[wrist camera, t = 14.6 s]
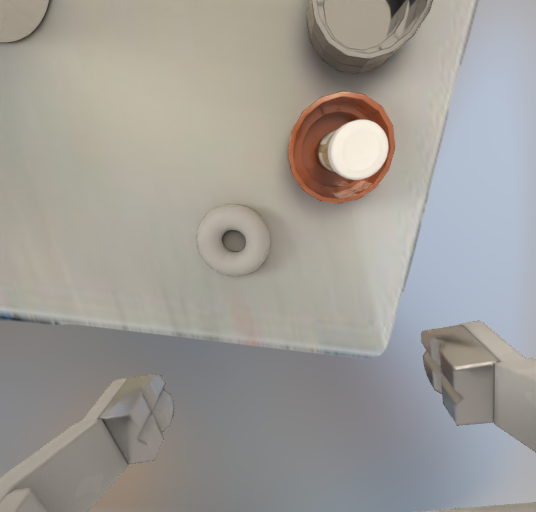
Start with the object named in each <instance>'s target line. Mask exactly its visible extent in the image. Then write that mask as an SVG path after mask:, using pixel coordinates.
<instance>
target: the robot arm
mask: <svg viewBox="0 0 536 512" xmlns="http://www.w3.org/2000/svg"><path fill="white" fill-rule="evenodd" d="M48 3H49V0H0V42H12V41H17V40H20V39H22V38H24V37H26V36H27V35H29V34H30V33H31V32H32V31H34V30H35V29H36V27H37V26H38V25H39V23H40V22H41V20H42V19H43V17H44V15H45V12H46V10H47V7H48ZM421 342H422V344H423V346H424V347H425V348H426V352H425V353H424V355H423V361H424V367H425V371H426V374H427V377H428V379H429V381H430V383H431V385H432V386H433V388H434V390H435V391H437V392H439V393H441V394H442V396H443V404H444V406H445V407H446V409H447V410H448V412H449V414H450V415H451V417H452V418H453V420H454V422H455V423H456V425H457V426H459V425H470V424H482V423H493V422H494V424H495V425H496V426H498V427H499V428H501V429H502V430H504V431H505V432H507V433H508V434H509V435H511V436H513V437H514V438H515V439H517V440H518V441H520V442H521V443H523V444H524V445H526V446H528V447H529V448H530V449H532V450H533V451H535V452H536V359H535V358H527V359H526V358H525V357H523V356H522V355H521V354H520V353H519V352H518V351H516V350H515V349H514V348H513V347H512V346H511V345H509V344H508V343H507V342H506V341H505V340H503V339H502V338H501V337H500V336H499V335H498V334H496V333H495V332H494V331H493V330H492V329H491V328H489V327H488V326H487V325H486V324H485V323H483V322H481V321H473V322H468V323H462V324H459V325H455V326H449V327H443V328H437V329H431V330H425V331H422V333H421ZM165 384H166V382H165V381H164V379H163V377H162V375H160V374H152V375H144V376H137V377H131V378H124V379H118V380H115V381H113V382H112V383H111V384H110V385H109V387H108V388H107V389H106V391H105V392H104V393H103V394H102V396H101V397H100V398H99V400H98V401H97V402H96V403H95V405H94V406H93V407H92V409H91V410H90V411H89V412H88V414H87V415H86V416H85V418H84V419H83V420H82V421H81V422H77V423H76V424H74V425H73V426H71V427H70V428H68V429H67V430H66V431H64V432H63V433H62V434H60V435H59V436H58V437H56V438H55V439H54V440H52V441H50V442H49V443H48V444H46V445H45V446H44V447H42V448H41V449H39V450H38V451H37V452H35V453H34V454H32V455H31V456H30V457H29V458H27V459H26V460H24V461H23V462H21V463H20V464H19V465H17V466H16V467H14V468H13V469H12V470H10V471H9V472H8V473H6V474H5V475H3V476H2V477H1V478H0V512H88V511H89V510H90V509H91V508H92V507H93V506H94V504H95V503H96V502H97V501H98V500H99V499H100V498H101V497H102V495H103V494H104V493H105V492H106V491H107V490H108V489H109V488H110V486H111V485H112V484H113V483H114V482H115V481H116V480H117V478H118V477H119V476H120V475H121V474H122V473H123V472H124V471H125V469H126V468H127V467H128V465H129V464H136V463H142V462H149V461H155V459H156V456H157V454H158V452H159V450H160V447H161V445H162V443H163V440H164V437H163V432H164V431H165V430H166V429H167V428H168V427H169V426H170V424H171V422H172V419H173V416H174V402H173V398H172V396H171V394H170V393H169V392H167V391H166V390H165V389H164V387H165ZM418 512H536V502H533V503H521V504H507V505H494V506H482V507H469V508H457V509H456V508H455V509H443V510H431V511H418Z"/></svg>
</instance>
